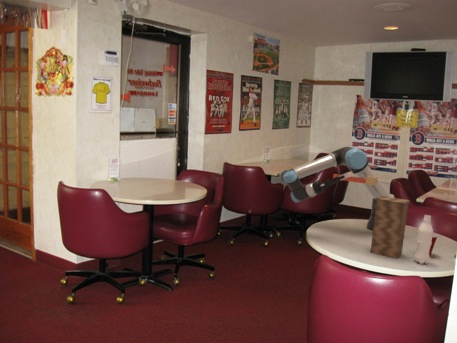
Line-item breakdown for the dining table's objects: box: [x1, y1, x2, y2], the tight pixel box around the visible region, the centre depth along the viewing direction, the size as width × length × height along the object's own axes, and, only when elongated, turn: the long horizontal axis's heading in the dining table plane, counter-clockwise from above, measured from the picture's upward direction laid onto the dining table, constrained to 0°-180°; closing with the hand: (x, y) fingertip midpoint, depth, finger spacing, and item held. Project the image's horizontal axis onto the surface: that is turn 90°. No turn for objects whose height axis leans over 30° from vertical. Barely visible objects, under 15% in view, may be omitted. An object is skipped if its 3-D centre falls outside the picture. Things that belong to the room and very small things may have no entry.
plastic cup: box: [416, 231, 439, 257], centre depth 250 cm, size 11×11×12 cm
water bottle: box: [414, 214, 434, 265], centre depth 235 cm, size 7×7×25 cm
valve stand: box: [370, 196, 411, 259], centre depth 246 cm, size 15×11×30 cm
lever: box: [332, 173, 379, 185], centre depth 254 cm, size 24×5×4 cm, turn 56°
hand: (351, 173), depth 255 cm, fingers closed on lever, 3 cm apart
